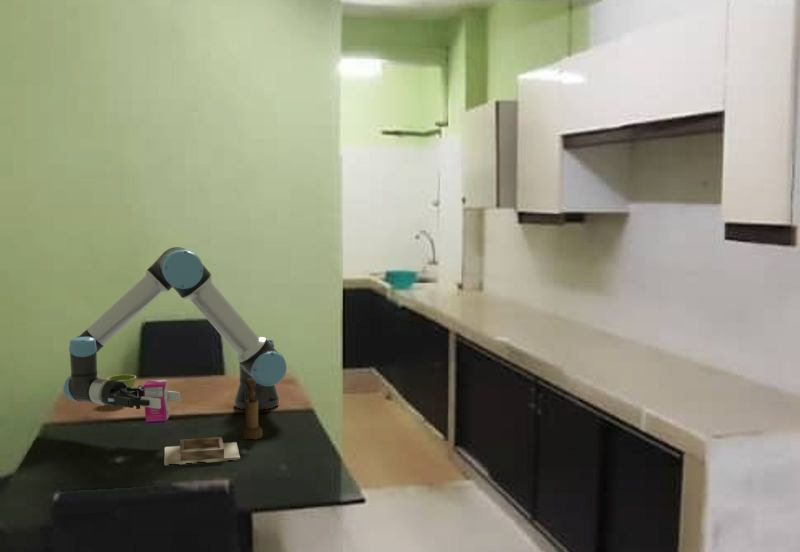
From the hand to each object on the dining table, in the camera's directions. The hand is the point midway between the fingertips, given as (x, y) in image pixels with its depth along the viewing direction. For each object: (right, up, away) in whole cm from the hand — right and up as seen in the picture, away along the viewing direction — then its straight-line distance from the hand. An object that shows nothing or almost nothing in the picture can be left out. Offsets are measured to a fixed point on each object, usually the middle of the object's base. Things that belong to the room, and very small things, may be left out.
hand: (169, 400), depth 236 cm
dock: (+11, -14, -6) cm, 19 cm away
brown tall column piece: (+22, -13, +11) cm, 28 cm away
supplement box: (-4, -7, +3) cm, 8 cm away
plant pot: (-31, -9, +51) cm, 60 cm away
